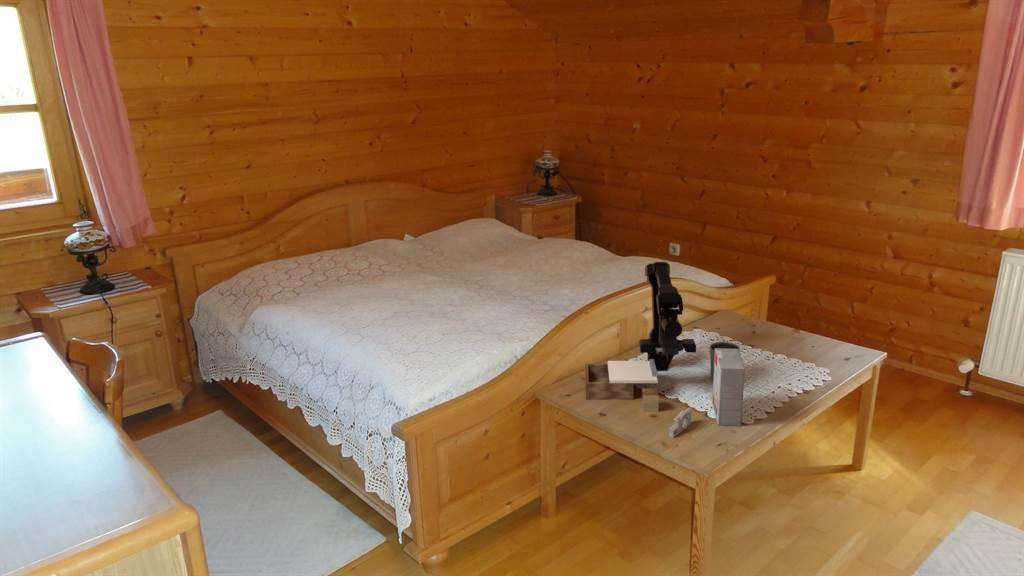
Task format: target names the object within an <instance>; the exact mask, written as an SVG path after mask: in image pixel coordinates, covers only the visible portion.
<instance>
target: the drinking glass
mask: <svg viewBox="0 0 1024 576" xmlns="http://www.w3.org/2000/svg"><path fill="white" fill-rule="evenodd" d="M715 348H726V349H738V350H739V351H740V347H739V345H737V344H735V343H731V342H728V341H726V342H725V341H717V342H714V343H711V344H710V345H709V354H710V355H709V359H710V364H709V365H710V368H709V369H710V370H709V371H710V372H709V373H710V379H711V380H712V381H714V361H715Z"/></svg>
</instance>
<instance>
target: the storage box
mask: <svg viewBox="0 0 1024 576" xmlns="http://www.w3.org/2000/svg"><path fill="white" fill-rule="evenodd" d="M584 366H585V369H584V373H585V375H584V378H585V379H584V380H585V399H586V400H610V401H611V400H612V401H613V400H617V401H618V400H620V401H621V400H630V401H631V400H632V401H633V400H634V384H635V383H610V382H609V372H608V363H585V364H584Z"/></svg>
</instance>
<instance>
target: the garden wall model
mask: <svg viewBox="0 0 1024 576" xmlns="http://www.w3.org/2000/svg"><path fill="white" fill-rule="evenodd" d="M692 411H693V409H692V407H686V409H685V410H681V411H680V412H679V413H678V414H677V416H676V417H675V418H673V421H674V424H673V425H672V426H671V427H669V428H668V429H669V437H670V438H672V437H673V438H675V437H676V436H677V435H678V434H680V433H681V432H683V431H684V430H686V428H687V427H688V426H689V425H691V423H692ZM675 435H676V436H675Z"/></svg>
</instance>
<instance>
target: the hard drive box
mask: <svg viewBox="0 0 1024 576" xmlns="http://www.w3.org/2000/svg"><path fill="white" fill-rule="evenodd" d="M745 372H746V368H745V365H744V362H743V360H742V356H741V353H740V349H739V350H738V349H726V348H715V361H714V380H712V381H713V383H712V384H713V386H712V405H713V407H712V408H713V410H714V417H715V419H716V424H717V425H718V426H729V427H730V426H732V427H733V426H734V427H737V426H738V427H741V426H742V424H743V423H742V421H743V420H742V419H743V408H744V407H743V405H744V391H745V377H746V376H745V375H746V374H745Z"/></svg>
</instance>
